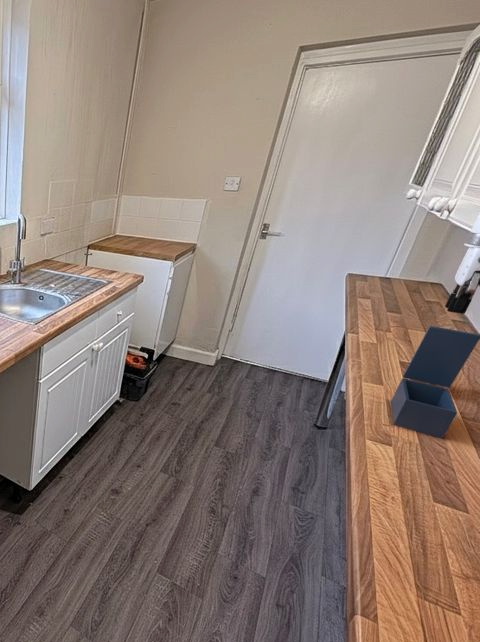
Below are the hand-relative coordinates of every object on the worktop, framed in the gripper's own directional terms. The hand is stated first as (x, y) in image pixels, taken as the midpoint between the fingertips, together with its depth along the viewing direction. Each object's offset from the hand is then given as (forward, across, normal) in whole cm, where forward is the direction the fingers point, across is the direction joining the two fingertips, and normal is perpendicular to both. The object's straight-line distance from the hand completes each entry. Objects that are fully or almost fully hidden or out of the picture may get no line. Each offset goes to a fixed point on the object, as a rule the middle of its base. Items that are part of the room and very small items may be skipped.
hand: (454, 309), depth 110 cm
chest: (+27, -15, 0) cm, 31 cm away
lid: (+11, -9, 0) cm, 14 cm away
